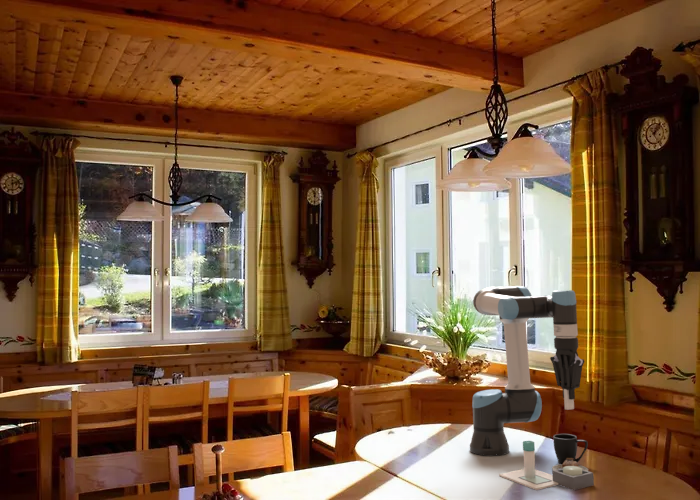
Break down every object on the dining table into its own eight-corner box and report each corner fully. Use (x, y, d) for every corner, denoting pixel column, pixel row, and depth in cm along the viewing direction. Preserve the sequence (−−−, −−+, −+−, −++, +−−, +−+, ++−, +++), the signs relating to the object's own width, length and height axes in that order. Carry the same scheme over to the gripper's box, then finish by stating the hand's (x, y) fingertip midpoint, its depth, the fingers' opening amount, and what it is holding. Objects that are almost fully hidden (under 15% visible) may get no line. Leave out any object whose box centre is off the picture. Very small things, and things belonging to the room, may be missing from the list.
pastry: (584, 478, 219) (583, 465, 219) (548, 474, 225) (547, 461, 225) (591, 469, 229) (590, 456, 229) (556, 465, 235) (556, 452, 235)
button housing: (552, 482, 214) (552, 470, 214) (572, 478, 218) (572, 466, 218) (573, 490, 206) (573, 477, 206) (593, 485, 210) (593, 472, 210)
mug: (584, 468, 228) (583, 441, 228) (551, 464, 235) (549, 437, 236) (591, 463, 235) (590, 436, 235) (559, 458, 242) (557, 432, 242)
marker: (521, 475, 220) (520, 441, 221) (531, 474, 222) (529, 440, 222) (528, 478, 217) (527, 444, 217) (538, 477, 218) (536, 442, 219)
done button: (559, 480, 213) (558, 467, 214) (572, 477, 216) (572, 464, 216) (573, 484, 208) (572, 472, 208) (586, 481, 211) (586, 469, 211)
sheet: (499, 475, 223) (499, 473, 223) (530, 469, 230) (530, 467, 230) (536, 490, 207) (536, 487, 207) (568, 482, 214) (568, 480, 214)
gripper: (543, 336, 218) (546, 407, 217) (572, 339, 207) (576, 413, 206) (559, 335, 222) (562, 404, 221) (589, 337, 210) (593, 410, 209)
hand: (569, 408), depth 213 cm, fingers closed
